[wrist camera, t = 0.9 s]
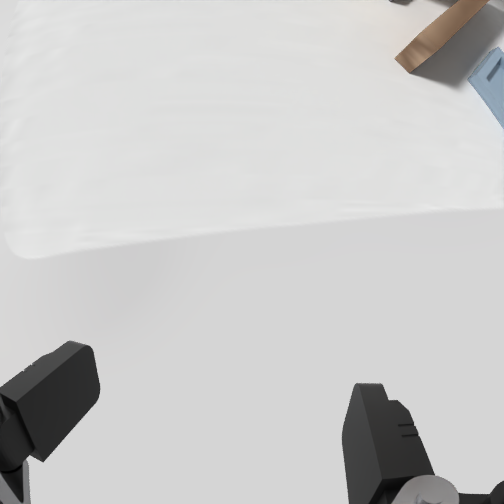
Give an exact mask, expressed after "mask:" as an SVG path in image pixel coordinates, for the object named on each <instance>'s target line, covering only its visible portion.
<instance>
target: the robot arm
mask: <svg viewBox="0 0 504 504" xmlns="http://www.w3.org/2000/svg"><path fill="white" fill-rule="evenodd" d="M99 394H100V383H99V378H98V373H97V368H96V363H95V358H94V352H93V349H92V348H91V347H90V346H88V345H85V344H81V343H78V342H74V341H68V342H66V343H65V344H63V345H62V346H61V347H59V348H58V349H56V350H55V351H54V352H52V353H49V354H47V355H44V356H42V357H40V358H39V359H38V360H36V361H35V362H34V363H33V364H32V365H30V366H28V367H27V368H26V369H25V370H24V371H21V372H20V373H19V374H17V375H16V376H15V377H13V378H12V379H11V380H9V381H8V382H7V383H5V384H4V385H3V386H1V387H0V504H31V501H30V486H29V465H28V462H27V460H26V458H27V457H28V456H29V455H31V456H33V457H34V458H36V459H38V460H40V461H42V462H44V461H45V460H46V459H47V457H48V456H49V455H50V454H51V453H52V452H53V451H54V450H55V448H56V447H57V446H58V445H59V444H60V443H61V442H62V440H63V439H64V438H65V437H66V436H67V435H68V434H69V432H70V431H71V430H72V429H73V428H74V427H75V426H76V424H77V423H78V422H79V421H80V420H81V419H82V418H83V416H85V414H86V413H87V412H88V411H89V410H90V409H91V407H93V405H94V404H95V403H96V402H97V400H98V398H99ZM342 446H343V454H344V462H345V471H346V480H347V489H348V499H349V504H504V481H502V482H500V483H499V484H498V485H497V486H496V487H495V488H494V489H493V491H492V492H491V493H490V494H463V493H458V492H457V490H456V488H455V487H454V485H453V484H452V483H450V482H449V481H448V480H446V479H444V478H442V477H439V476H435V474H434V471H433V469H432V466H431V463H430V461H429V458H428V456H427V453H426V451H425V448H424V446H423V443H422V441H421V438H420V437H419V436H418V431H417V429H416V426H414V422H413V419H412V417H411V414H410V412H409V410H407V409H406V408H405V407H404V406H403V405H402V404H401V403H400V402H399V401H398V400H388V397H387V394H386V392H385V389H384V387H383V385H382V384H368V383H367V384H366V383H363V384H362V383H356V384H355V386H354V388H353V392H352V396H351V399H350V403H349V407H348V411H347V414H346V417H345V421H344V425H343V431H342Z"/></svg>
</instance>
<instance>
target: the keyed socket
mask: <svg viewBox="0 0 504 504" xmlns="http://www.w3.org/2000/svg"><path fill="white" fill-rule="evenodd" d="M468 81H469V82H470V83H471V84H472V86H473V87H474V88H475V89H476V91H477V92H478V93H479V95H480V96H481V97H482V99H483V100H484V101H485V103H486V104H487V105H488V107H489V108H490V110H491V111H492V112H493V114H494V115H495V117H496V118H497V120H498V121H499V123H500V124H501V126H502V127H503V129H504V53H503V52H502V50H501V49H500V48H499V47H497V48H495V49H493V50H492V51H490V52H489V54H488V55H487V56H486V57H485V59H484V60H483V61H482V62H481V64H480V65H479V66H478V67H477V68H476V70H475V71H474V72H473V73H472V75H471V76H470V77H469V78H468Z"/></svg>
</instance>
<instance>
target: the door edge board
mask: <svg viewBox="0 0 504 504" xmlns="http://www.w3.org/2000/svg"><path fill="white" fill-rule="evenodd" d="M488 1H489V0H459V1H457V2H456V3H455V4H454V5H453V6H451V7H450V8H449V9H448V10H447V11H445V12H444V13H443V14H442V15H441V16H439V17H438V18H437V19H436V20H435V21H434V22H432V23H431V24H430V25H429V26H428V27H427V28H425V29H424V30H423V31H422V32H421V33H420V34H419V35H418V36H417V37H416V38H415V39H414V40H413V41H412V42H411V43H410V44H409V45H408V46H407V47H406V48H405V49H404V50H403V51H402V52H400V53H399V54H398V55H397V56H396V57H395V58H394V59H396V60H397V61H398V62H399V63H400V64H401V65H402V66H403V67H404V68H405V69H406V70H407V72H408V73H410V72H412V71H413V70H414V69H415V68H416V67H418V66H419V65H420V64H421V63H423V62H424V61H425V60H426V59H428V58H429V57H430V56H432V55H433V54H434V53H435V52H437V51H438V50H439V49H440V48H441V47H442V46H443V45H444V44H445V43H446V42H447V41H448V40H449V39H450V38H451V37H452V36H453V35H454V34H455V33H456V32H457V31H458V30H459V29H460V28H462V27H463V26H464V25H465V24H466V23H467V22H468V21H469V20H470V19H471V18H472V17H473V16H474V15H475V14H476V13H477V12H478V11H479V10H480V9H481V8H482V7H483V6H484V5H485V4H486V3H487V2H488Z"/></svg>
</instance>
